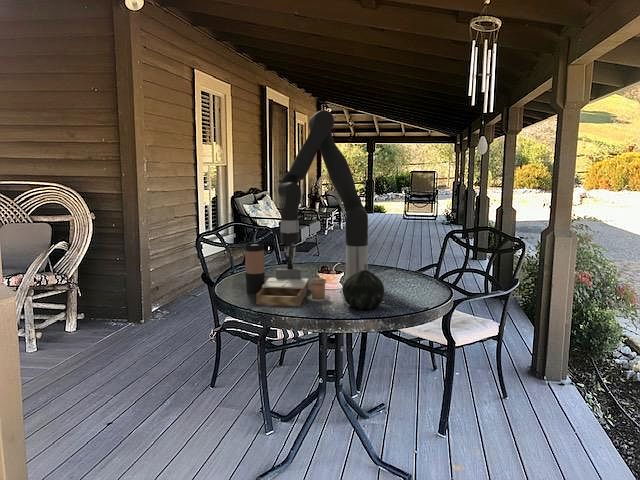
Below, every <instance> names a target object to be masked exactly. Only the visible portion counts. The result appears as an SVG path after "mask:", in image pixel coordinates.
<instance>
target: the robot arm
mask: <svg viewBox="0 0 640 480" xmlns="http://www.w3.org/2000/svg"><path fill="white" fill-rule="evenodd" d="M334 125H335V117H334V116H333V114H332V113H331V112H330V111H328V110H326V109H324V110H319V111H317V112H315V113H314V114H313V115H312V116H311V117H310V118H309V120H308V128H309V130H310V131H309V134H308V136H307V138H306V140H305V142H303V145H302V146H301V148H300V150H299V151H298V153H297V154H296V156H295V158H294V160H293V162H292V164H291V166H290V168H289V170H288V172H286V174H285V176H284V177H283V178H282V179H281V180H280V183H279V185H278V188H277V194H278V196H279V197H280V198H282V199H285V201H284V205H282V206H281V208H280V242H281V243H282V244H285V246H284V258H285V259H284V261H285V263H286V265H287V267H286V269H294V261H295V255H296V246H295V244H296V243H299V241H300V223H299V207H300V202H301V199H302V198H301V197H302V190H301V186H300V185H299V183H300V182H301V181H303V180H304V179H305V178H306V176H307V174H308V172H309V171H310V168H311V166H312V164H313V161H314V159H315V157H316V155H317V153H318V151H319V152H320V154H321V157H322V161H323V163H324V165H325V168H326V169H325V170H326V171H327V173H328V174H327V175H328V177H329V179H330V182H331V184H332V185H333V188H334V189H335V191H336V193H337V194H338V197H339V198H340V200H341V203H342V205H343V209H344V212H345V213H344V214H345V281H346V280H347V279H348V278H349V277H351V276H352V275H353V274H355V273H357V272H359V271H361V270H367V271H369V270H368V264H369V263H368V248H369V245H368V243H369V242H368V241H369V238H368V237H369V235H368V234H369V220H368V219H369V214H368V212H367V211H366V209H365V207H364V205H363V203H362V200H361V199H360V197H359V195H358V191H357V189H356V185H355V180H354V177H353V174H352V171H351V168H350V165H349V162H348V161H347V158H346V157H345V156H344V154H343V153H342V151H341V150H340V149H339V147H338V146H337V144H336V142H335V140H334V138H333V135H332V129H333V128H334Z"/></svg>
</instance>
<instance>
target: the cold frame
mask: <svg viewBox="0 0 640 480" xmlns="http://www.w3.org/2000/svg"><path fill="white" fill-rule="evenodd" d="M309 287H310V286H309V279H308V282H307V283H306V285H305V287H304V288H303V289H295V288H262V289H261V290H260V291H259V292H258V293H255V294H256V295H255V299H256V300H255V301H256V302H255V303H256V305H258V306H287V307H288V306H289V307H290V306H291V307H292V306H293V307H300V306H301V304H302V303H303V300H304V299H305V297H306V294H307V293H306V291H309Z"/></svg>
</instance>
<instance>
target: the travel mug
mask: <svg viewBox="0 0 640 480" xmlns="http://www.w3.org/2000/svg"><path fill="white" fill-rule="evenodd" d="M244 260H245V261H244V262H245V267H244V269H245V270H244V271H245V288H246V293H249V294H257V293H258V292H259V291H260V290H261V289H262V285H263V284H264V283H265V282H266V281H265V279H266V276H265V274H266V273H265V271H266V270H265V244H264V243H262V242H247V243H245V244H244Z"/></svg>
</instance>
